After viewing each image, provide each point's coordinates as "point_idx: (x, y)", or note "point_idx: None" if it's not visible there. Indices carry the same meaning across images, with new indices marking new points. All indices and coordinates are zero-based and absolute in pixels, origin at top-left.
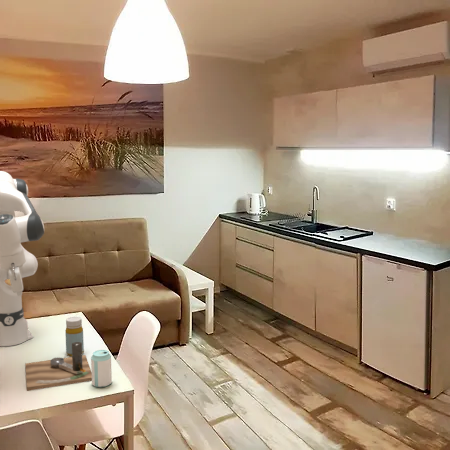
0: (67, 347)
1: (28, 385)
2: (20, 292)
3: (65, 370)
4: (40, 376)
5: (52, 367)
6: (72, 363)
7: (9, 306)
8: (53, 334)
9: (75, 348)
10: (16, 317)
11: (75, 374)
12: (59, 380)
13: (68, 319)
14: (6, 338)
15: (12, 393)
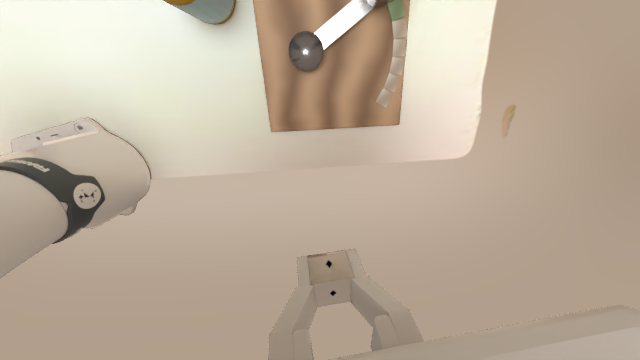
0: (218, 14)
1: (390, 121)
2: (360, 271)
3: None
4: (355, 96)
5: None
6: (382, 1)
7: (34, 216)
8: (54, 60)
9: None
10: (66, 178)
11: None
12: (397, 50)
13: None
14: (133, 182)
15: (395, 149)
